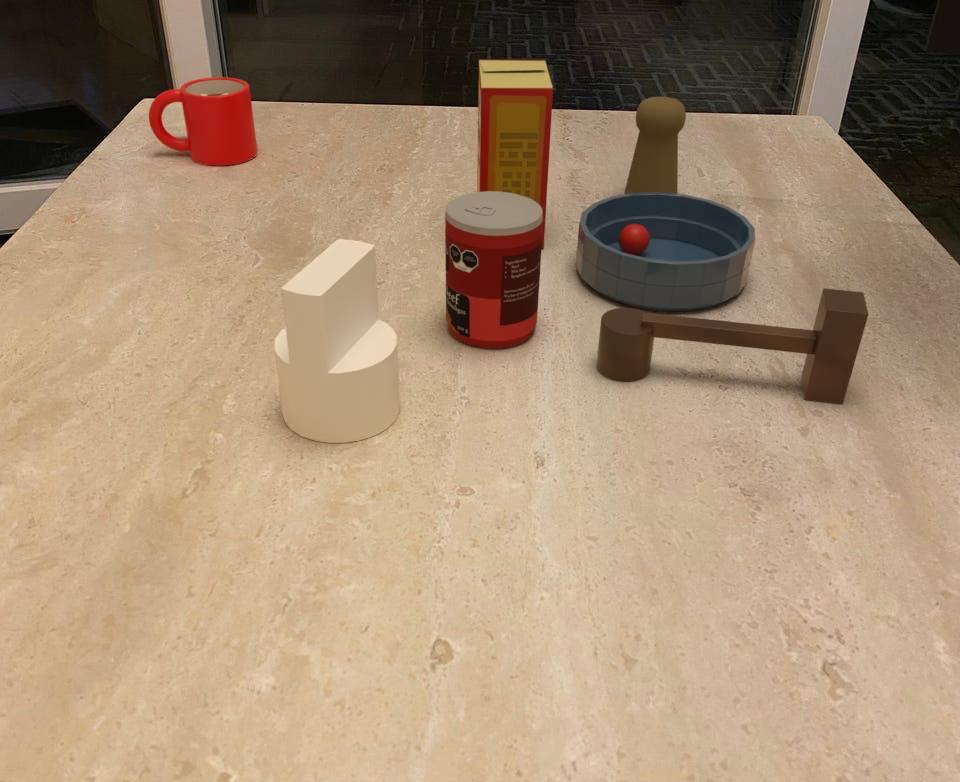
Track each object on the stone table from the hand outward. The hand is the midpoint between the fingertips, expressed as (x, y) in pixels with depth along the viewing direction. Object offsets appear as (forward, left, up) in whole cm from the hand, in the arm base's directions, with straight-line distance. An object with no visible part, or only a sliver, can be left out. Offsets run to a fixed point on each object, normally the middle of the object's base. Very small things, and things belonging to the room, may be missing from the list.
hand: (958, 75), depth 76 cm
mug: (+75, -26, -22) cm, 82 cm away
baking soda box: (+36, -13, -22) cm, 44 cm away
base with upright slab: (+43, +23, -22) cm, 53 cm away
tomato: (+23, -9, -20) cm, 31 cm away
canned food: (+34, +8, -22) cm, 41 cm away
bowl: (+20, -6, -22) cm, 30 cm away
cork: (+22, -24, -22) cm, 39 cm away
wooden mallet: (+14, +12, -22) cm, 28 cm away
